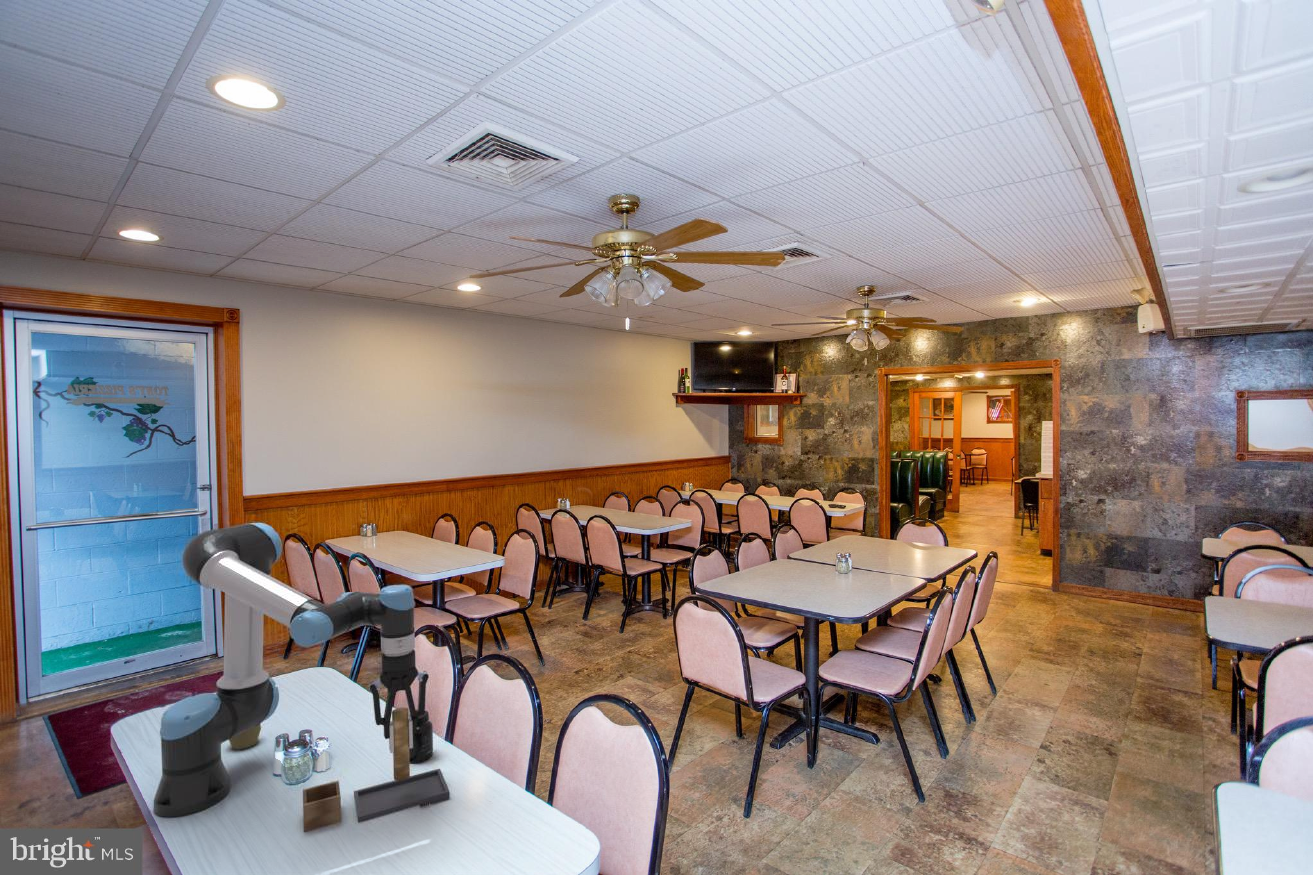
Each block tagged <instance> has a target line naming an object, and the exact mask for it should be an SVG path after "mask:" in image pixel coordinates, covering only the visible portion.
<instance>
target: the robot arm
mask: <svg viewBox="0 0 1313 875" xmlns="http://www.w3.org/2000/svg"><path fill="white" fill-rule="evenodd" d="M282 544H283V543H282V540H281V538H280V535H279V533H278V532H277V531H275V528H273V527H272V526H271V525H269V524H266V523H264V522H253V523H252V522H251V523H243V524H238V525H232V526H227V527H223V528H217V529H216V528H215V529H210V530H209V529H208V530H206V531H203V532H200V533H199V534H196V536H194V537H193V538H192V539H191V540H190V541H189V542H188V543H187V545H186V547H185V548H184V550H183V554H182V559H181V561H182V567H183V569H184V572H185V573H186V574H187V577H189V578H190V580H192V581H194V582H195V583H196V584H198V585H199V586H202V587H204V588H205V589H207V590H214V589H217V590H219V591H221V592H223V593H224V634H223V635H224V637H223V642H224V643H223V646H224V647H223V675H222V676H220V678H219V679H218V680H217V681H216V685H215V686H216V688H215V690H216V691H215V692H216V693H212V692H204V693H198V694H195V695H194V696H188V697H186V698H182V699H181V700H179V701H177V702H175V703H173V704H171V706H169V707H168V708H167V709H166V710H165V711H164V713H163V714H162V717H161V718H160V730H159V736H160V742H161V744H160V745H161V746H160V748H161V750H160V751H161V773H162V774H161V777H160V780H159V783H158V787H157V788H156V791H155V795H154V797H153V812H154V814H156V815H157V816H159V817H163V818H164V817H165V818H171V817H172V818H174V817H182V816H183V817H184V816H186V815H192V814H193V813H198V812H200V811H203V810H205V809H208V808H210V807H212V806H214V805H215V804H217V803H218V802H220V801H222V800H223V799H225V797H227V795H229V793H230V791H231V777H230V775H229V772H228V770H227V768H226V766H225V764H224V762H223V760H222V744H223V743H225V742H227V741H229V739H231V738H233V737H235V736H237V735H239V734H241V733H243V732H244V731H246V730H248V729H250V728H254V727H256V726H258V725H259V724H262V723H263V722H265V721H267V720H268V719H270V718H271V716H273V714H274V713H275V712H276V710H277V708H278V706H279V700H280V691H279V687H278V686H276V681H275V680H274V679H273V678H272V677H270V674H269V672H267V671H266V670H265V669H263V665H264V664H263V663H264V662H263V661H264V659H263V658H264V655H263V654H264V652H263V651H264V615H265V616H266V617H269V618H271V619H273V620H274V621H276V622H277V623H280V624H282V625H284V626H285V627H287V628H289V634H290V637H291V639H293V640H294V643H295V644H296V646H299V647H302V648H311V647H313V646H316V645H321V644H323V643H325V642H327V641H330V640H331V639H334V638H336V637H338V636H340V635H342V634H345V633H348V632H350V631H353V630H356V629H357V628H360V627H361V626H372V627H380V648H381V649H380V651H381V653H382V654H381V673H380V676H379V678H378V679H376V680H375V681H370V682H369V683H368V687H369V689H370V692H371V693H372V700H373V702H372V703H373V710H374V711H373V712H374V714H373V715H374V720H375V725H376V726H383V737H384V739H385V740H388V745H389V746H388V748H389V753H390V754H393V753H394V733H393V724H392V711H393V707H394V700H395V697H396V693H397V692H401V691H404V693H405V697H406V701H407V702H406V703H407V705H408V712H409V716H408V725H409V748H410V749H411V748H413V733H414V732H416V731H417V719H418V717H419V716H422V715H424V714H425V711H426V689H427V683H428V680H429V677H430V676H429V674H428V672H427V671H426V670H424V671H419V670H418V668H417V666H416V663H417V662H416V650H415V648H416V641H415V640H416V637H415V634H416V633H415V605H416V604H415V599H414V598H415V597H414V589H413V587H412V586H410V585H408V584H394V585H387V586H384V587H382V588H381V589H380V591H379V593H373V592H364V591H350V592H349V591H348V592H344V593H342V594H341V595H340V596H339V597H338V598H337V599H336V601H334V602H330V603H328V604H324V603H322V602H320V601H318V600H316V599H314V598H312V597H310V596H308V595H307V594H304V593H302V592H301V591H299V590H297V589H295V588H293V587H292V586H290V585H287V584H285V583H284V582H281V580H278V579H276V578H274V577H272V576H271V575H272V565H274V563H276V562H277V561H279V558H281V556H282V552H283V545H282ZM416 678H417V680H418V697H417V698H418V703H417V709H416V706H415V701H414V698H413V692H412V688H411V686H412V684H413V683H414V681H415V680H416ZM381 684H382V685H383V686H384V687H385V688H386V689H387V696H386V699H385V700H386V701H385V707H384V712H383V713H384V714H383V716H382V711H381V702H380V701H381V700H380V694H379V691H380V689H381ZM410 715H411V717H410Z"/></svg>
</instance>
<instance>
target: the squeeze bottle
mask: <svg viewBox="0 0 1313 875" xmlns="http://www.w3.org/2000/svg"><path fill="white" fill-rule="evenodd" d="M261 724H262V723H261ZM261 724H259V725H258V726H256V727H254V728H250V729H248V730H246V731H244V732H243V733H241V734H239V735H237V736H235V737H233V738H231V739H229V740H228V741H229V743H230V746H231V748H232V749H234V750H244V749H247V748H251V747H253V746H255V744H257V743H258V740H259V736H260V732H261V729H262V726H261Z"/></svg>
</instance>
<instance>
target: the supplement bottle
mask: <svg viewBox="0 0 1313 875" xmlns="http://www.w3.org/2000/svg"><path fill="white" fill-rule="evenodd" d="M409 717H411V715H410V714H409ZM433 732H434V726H433V723H432V722H431V721H430V716H429V711H428V710H425V714H424V715H422V716H419V717H418V719H417V731H416V732H414V733H413V748H411V749H410V748H409V759H410V763H411V764H421V763H422V764H423V763H425V762H428V761H429V760H431V759H432V757H433V755H434V733H433Z"/></svg>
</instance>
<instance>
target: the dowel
mask: <svg viewBox="0 0 1313 875" xmlns="http://www.w3.org/2000/svg"><path fill="white" fill-rule="evenodd" d="M408 717H409V707H408V708H407V707H397V708H395V709H392V714H391V721H392V724H393V733H394V753H392V762H393V781H394V780H396V781H402V780H405V779H407V778H409V776H410V775H411V768H410V766H411V764H410V759H409V725H408Z"/></svg>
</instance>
